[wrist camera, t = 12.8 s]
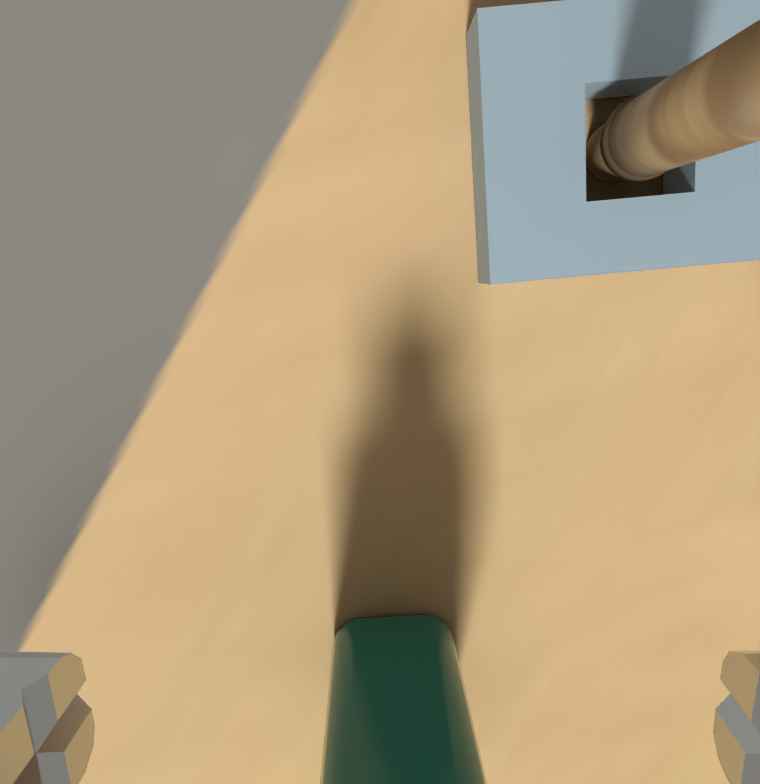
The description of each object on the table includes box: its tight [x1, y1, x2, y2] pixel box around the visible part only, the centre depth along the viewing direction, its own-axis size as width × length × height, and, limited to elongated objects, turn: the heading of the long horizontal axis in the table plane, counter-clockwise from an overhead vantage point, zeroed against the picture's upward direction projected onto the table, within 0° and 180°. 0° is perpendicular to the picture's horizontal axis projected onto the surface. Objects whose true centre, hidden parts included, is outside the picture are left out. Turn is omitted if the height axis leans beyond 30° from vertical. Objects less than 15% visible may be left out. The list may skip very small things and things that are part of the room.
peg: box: [586, 20, 760, 182], centre depth 28 cm, size 4×4×14 cm
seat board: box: [466, 0, 760, 284], centre depth 33 cm, size 17×14×4 cm
